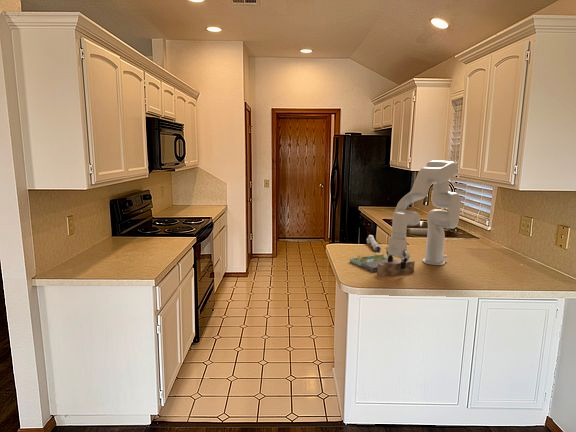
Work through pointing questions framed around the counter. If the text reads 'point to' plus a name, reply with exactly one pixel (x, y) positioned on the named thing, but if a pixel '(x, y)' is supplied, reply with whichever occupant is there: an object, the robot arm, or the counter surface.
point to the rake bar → (394, 268)
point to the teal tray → (354, 261)
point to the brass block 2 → (378, 256)
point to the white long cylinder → (373, 243)
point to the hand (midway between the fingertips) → (396, 266)
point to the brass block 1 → (362, 258)
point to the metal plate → (373, 265)
